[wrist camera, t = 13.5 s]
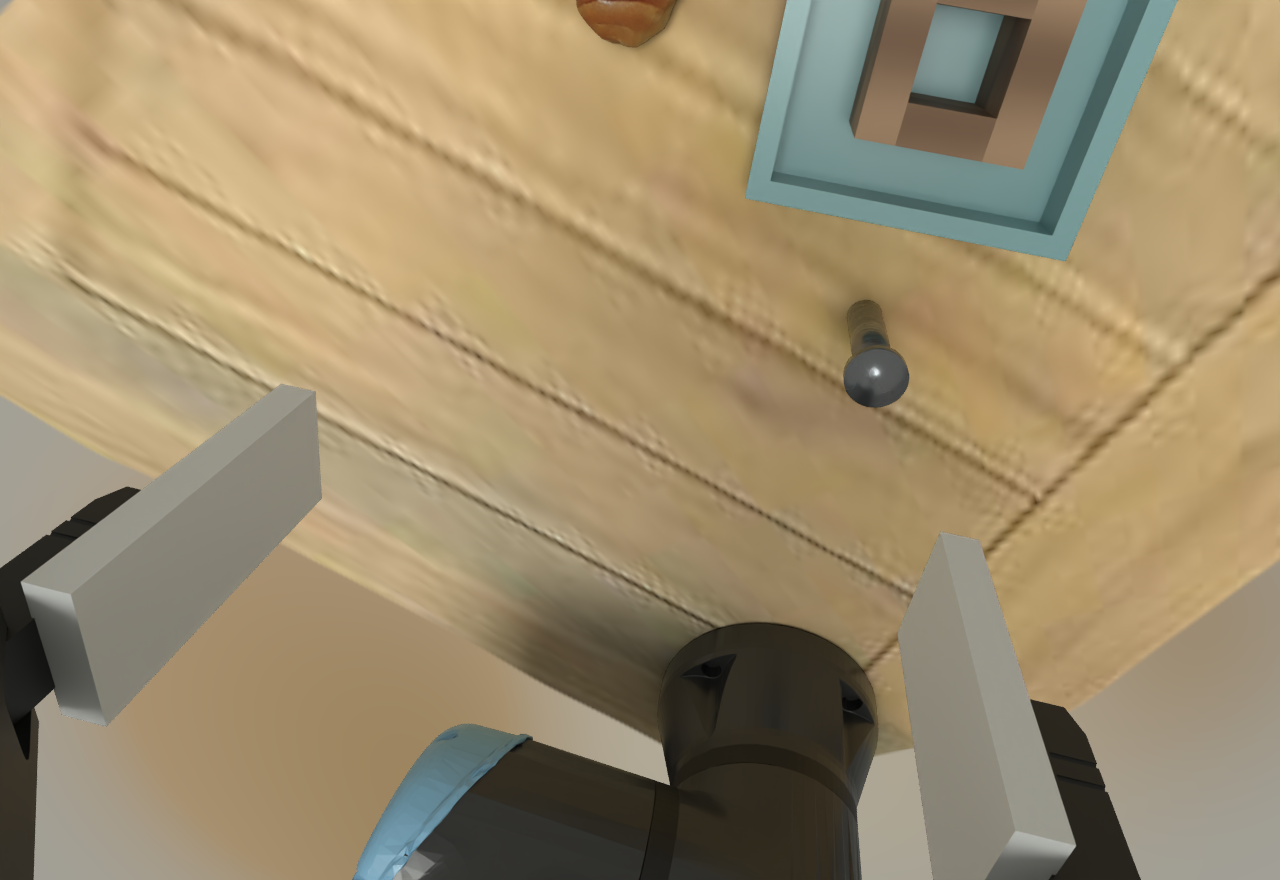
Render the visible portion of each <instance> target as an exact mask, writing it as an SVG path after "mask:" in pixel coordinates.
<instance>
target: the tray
mask: <svg viewBox="0 0 1280 880" xmlns="http://www.w3.org/2000/svg"><path fill="white" fill-rule="evenodd" d="M880 1H881V0H787V3H786V8H785V12H784V17H783V22H782V26H781V31H780V36H779V40H778V45H777V50H776V54H775V59H774V64H773V68H772V73H771V78H770V82H769V87H768V92H767V96H766V101H765V106H764V111H763V115H762V120H761V125H760V129H759V134H758V139H757V143H756V148H755V153H754V157H753V162H752V167H751V171H750V176H749V181H748V185H747V190H746V195H745V199H751V200H756V201H761V202H766V203H771V204H776V205H781V206H786V207H791V208H796V209H802V210H807V211H812V212H817V213H822V214H827V215H832V216H837V217H842V218H847V219H852V220H858V221H863V222H868V223H873V224H878V225H883V226H888V227H893V228H898V229H903V230H908V231H914V232H919V233H924V234H929V235H934V236H939V237H944V238H949V239H954V240H959V241H964V242H970V243H975V244H980V245H985V246H990V247H995V248H1000V249H1005V250H1010V251H1015V252H1020V253H1026V254H1031V255H1036V256H1041V257H1046V258H1051V259H1056V260H1061V261H1066V259H1067V257H1068V255H1069V252H1070V250H1071V248H1072V245H1073V243H1074V241H1075V238H1076V236H1077V234H1078V231H1079V229H1080V227H1081V224H1082V222H1083V220H1084V217H1085V215H1086V213H1087V210H1088V208H1089V206H1090V203H1091V201H1092V199H1093V196H1094V194H1095V192H1096V189H1097V187H1098V185H1099V182H1100V180H1101V178H1102V175H1103V173H1104V171H1105V168H1106V166H1107V164H1108V161H1109V159H1110V157H1111V154H1112V152H1113V150H1114V147H1115V145H1116V143H1117V140H1118V138H1119V136H1120V134H1121V131H1122V129H1123V127H1124V124H1125V122H1126V120H1127V117H1128V115H1129V113H1130V110H1131V108H1132V106H1133V103H1134V101H1135V99H1136V96H1137V94H1138V92H1139V89H1140V87H1141V85H1142V82H1143V80H1144V78H1145V75H1146V73H1147V71H1148V68H1149V66H1150V64H1151V61H1152V59H1153V57H1154V54H1155V52H1156V50H1157V47H1158V45H1159V43H1160V40H1161V38H1162V36H1163V33H1164V31H1165V29H1166V26H1167V24H1168V22H1169V19H1170V17H1171V15H1172V12H1173V10H1174V8H1175V5H1176V3H1177V1H1178V0H1087V3H1086V5H1085V8H1084V11H1083V13H1082V16H1081V19H1080V21H1079V24H1078V27H1077V29H1076V32H1075V35H1074V37H1073V40H1072V42H1071V45H1070V48H1069V50H1068V53H1067V56H1066V58H1065V61H1064V64H1063V66H1062V69H1061V72H1060V74H1059V77H1058V80H1057V82H1056V85H1055V88H1054V90H1053V93H1052V95H1051V98H1050V101H1049V103H1048V106H1047V109H1046V111H1045V114H1044V117H1043V119H1042V122H1041V125H1040V127H1039V130H1038V133H1037V135H1036V138H1035V141H1034V143H1033V146H1032V148H1031V151H1030V154H1029V156H1028V159H1027V162H1026V164H1025V167H1024V170H1022V169H1017V168H1011V167H1006V166H1001V165H995V164H990V163H985V162H979V161H974V160H969V159H963V158H958V157H952V156H947V155H942V154H936V153H931V152H926V151H920V150H915V149H909V148H904V147H899V146H893V145H888V144H883V143H877V142H872V141H866V140H861V139H856V138H854V135H853V132H852V129H851V126H850V123H849V119H850V115H851V111H852V107H853V103H854V100H855V96H856V92H857V88H858V84H859V81H860V77H861V73H862V69H863V66H864V62H865V58H866V54H867V50H868V47H869V43H870V39H871V35H872V31H873V28H874V24H875V20H876V16H877V12H878V9H879V5H880ZM1003 17H1004V15H998V14H992V13H987V12H981V11H975V10H969V9H963V8H958V7H952V6H946V5H940V4H937V5H936V9H935V12H934V15H933V19H932V22H931V26H930V29H929V32H928V36H927V39H926V43H925V46H924V49H923V53H922V56H921V59H920V63H919V66H918V70H917V73H916V76H915V80H914V83H913V87H912V90H911V92H914V93H919V94H925V95H930V96H936V97H941V98H947V99H953V100H958V101H964V102H969V103H975V101H976V98H977V95H978V92H979V89H980V86H981V83H982V80H983V77H984V74H985V71H986V68H987V65H988V62H989V59H990V56H991V53H992V50H993V47H994V44H995V41H996V38H997V35H998V32H999V29H1000V26H1001V23H1002V20H1003Z"/></svg>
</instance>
